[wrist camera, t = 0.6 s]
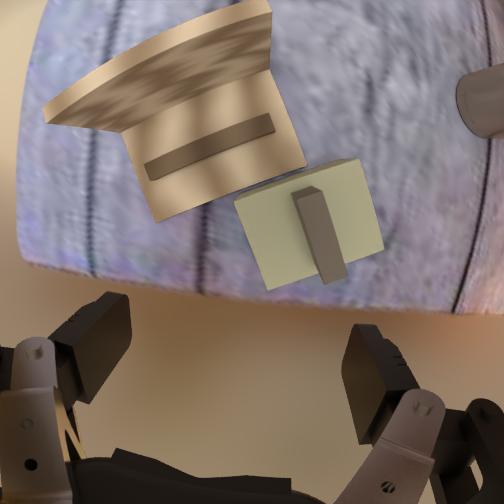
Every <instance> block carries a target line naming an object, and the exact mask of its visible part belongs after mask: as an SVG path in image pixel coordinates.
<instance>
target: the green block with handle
mask: <svg viewBox="0 0 504 504" xmlns="http://www.w3.org/2000/svg"><path fill="white" fill-rule="evenodd" d="M234 205H235V207H236V210H237V212H238V215H239V218H240V220H241V223H242V225H243V228H244V230H245V233H246V236H247V238H248V241H249V243H250V246H251V249H252V251H253V254H254V256H255V259H256V261H257V264H258V267H259V269H260V272H261V274H262V277H263V279H264V282H265V285H266V287H267V290H271V289H274V288H277V287H280V286H283V285H286V284H289V283H292V282H295V281H298V280H301V279H304V278H307V277H310V276H312V275H315V274H318V273H319V274H320V277H321V279H322V281H323V283H324V285H325V284H328V283H331V282H334V281H336V280H339V279H342V278H345V277H348V274H347V271H346V267H345V264H346V263H349V262H352V261H355V260H357V259H360V258H363V257H366V256H368V255H371V254H374V253H376V252H379V251H382V250H384V246H383V241H382V237H381V233H380V229H379V225H378V221H377V217H376V214H375V210H374V206H373V202H372V199H371V195H370V192H369V188H368V185H367V182H366V178H365V175H364V172H363V169H362V166H361V163H360V159H339V160H336V161H333V162H330V163H327V164H324V165H321V166H317V167H314V168H311V169H308V170H305V171H303V172H300V173H297V174H294V175H291V176H288V177H285V178H282V179H279V180H277V181H274V182H271V183H268V184H265V185H263V186H260V187H257V188H254V189H252V190H249V191H246V192H243V193H241V194H239V195H238V196H237V198H236V199H235V200H234Z"/></svg>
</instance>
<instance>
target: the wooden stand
mask: <svg viewBox="0 0 504 504" xmlns="http://www.w3.org/2000/svg"><path fill="white" fill-rule="evenodd" d="M271 28H272V10H271V8H270V6H269V4H268V2H267V1H266V0H247V1H244V2H241V3H237V4H234V5H231V6H228V7H225V8H222V9H219V10H216V11H213V12H211V13H208V14H205V15H203V16H200V17H197V18H195V19H192V20H190V21H188V22H185V23H183V24H180V25H178V26H176V27H173V28H171V29H169V30H167V31H165V32H163V33H160V34H158V35H156V36H154V37H152V38H150V39H148V40H146V41H144V42H142V43H140V44H138V45H136V46H135V47H133V48H131V49H129V50H127V51H125V52H124V53H122V54H120V55H118V56H117V57H115V58H113V59H111V60H110V61H108V62H106V63H105V64H103V65H102V66H100V67H98V68H97V69H95V70H94V71H92V72H91V73H89V74H87V75H86V76H84V77H83V78H81V79H80V80H79V81H77V82H76V83H74V84H73V85H71V86H70V87H69V88H67V89H66V90H64V91H63V92H62V93H60V94H59V95H58V96H56V97H55V98H54V99H52V100H51V101H50V102H49V103H47V104H46V105H45V106H44V107H42V109H43V113H44V117H45V121H46V123H47V124H57V125H67V126H75V127H83V128H91V129H98V130H105V131H112V132H119V133H121V134H122V136H123V139H124V142H125V145H126V148H127V151H128V153H129V156H130V159H131V161H132V164H133V167H134V169H135V172H136V175H137V177H138V180H139V183H140V185H141V188H142V190H143V193H144V195H145V198H146V200H147V203H148V205H149V208H150V210H151V213H152V215H153V217H154V220H155V222H156V223H157V222H160V221H162V220H165V219H167V218H169V217H172V216H174V215H177V214H179V213H181V212H184V211H186V210H189V209H191V208H194V207H196V206H199V205H201V204H204V203H206V202H209V201H211V200H214V199H216V198H219V197H222V196H224V195H227V194H229V193H232V192H235V191H237V190H240V189H243V188H245V187H248V186H251V185H254V184H256V183H259V182H262V181H265V180H267V179H270V178H273V177H276V176H279V175H281V174H284V173H287V172H290V171H293V170H296V169H299V168H302V167H305V166H307V163H306V160H305V158H304V155H303V152H302V149H301V147H300V144H299V141H298V139H297V136H296V133H295V131H294V128H293V126H292V123H291V121H290V118H289V116H288V113H287V111H286V108H285V106H284V103H283V101H282V98H281V96H280V93H279V91H278V89H277V86H276V84H275V82H274V79H273V77H272V75H271V72H270V70H269V65H270V47H271Z"/></svg>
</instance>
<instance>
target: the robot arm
mask: <svg viewBox="0 0 504 504" xmlns="http://www.w3.org/2000/svg"><path fill="white" fill-rule="evenodd" d="M456 97H457V104H458V108H459V111H460V114H461V117H462V118H463V120H464V122H465V124H466V125H467V126H468V128H469V129H470V130H471V131H472V132H473V133H474V134H476V135H477V136H479V137H481V138H487V139H492V138H503V139H504V63H502V64H499V65H496V66H493V67H489V68H486V69H483V70H480V71H477V72H474V73H471V74H468V75H466V76H464V77H463V78H462V79H461V80H460V82H459V83H458V87H457V94H456ZM131 338H132V328H131V318H130V306H129V299H128V296H127V295H125V294H120V293H115V292H109V291H107V292H106V293H104V294H103V295H102V296H101V297H100V298H99V299H98V300H97V301H95V302H92V303H89V304H87V305H85V306H83V307H81V308H80V309H79V310H78V311H77V312H76V313H75V314H74V315H72V316H71V317H70V318H69V319H68V321H65V322H64V323H63V324H62V325H61V326H60V327H59V328H58V329H56V331H54V332H53V333H52V334H51V335H50V336H49V337H48V338H44V337H31V338H28V339H25V340H23V341H21V342H20V343H19V344H18V345H17V346H16V347H15V348H8V347H1V346H0V474H1V485H2V487H0V504H326V503H324V502H322V501H320V500H319V499H317V498H315V497H312V496H310V495H308V494H305V493H302V492H299V491H295V490H291V478H274V477H259V476H248V475H244V476H232V477H215V478H197V477H194V476H192V475H189V474H187V473H184V472H182V471H180V470H178V469H175V468H173V467H171V466H169V465H167V464H165V463H163V462H160V461H158V460H156V459H153V458H150V457H146V456H142V455H139V454H135V453H132V452H128V451H125V450H122V449H119V448H116V449H115V451H114V453H113V455H112V457H111V458H109V457H94V458H87V456H86V454H85V450H84V447H83V443H82V439H81V435H80V431H79V426H78V422H77V417H76V412H75V409H74V406H73V405H74V403H75V402H76V400H78V401H81V402H84V403H86V404H90V403H91V401H92V400H93V398H94V397H95V395H96V394H97V392H98V391H99V389H100V388H101V386H102V385H103V384H104V382H105V381H106V379H107V378H108V376H109V375H110V373H111V372H112V371H113V369H114V368H115V366H116V365H117V363H118V362H119V360H120V359H121V358H122V356H123V355H124V353H125V352H126V351H127V349H128V348H129V346H130V343H131ZM341 370H342V371H341V372H342V379H343V382H344V386H345V390H346V394H347V397H348V401H349V405H350V409H351V413H352V417H353V421H354V425H355V429H356V433H357V438H358V442H359V445H363V444H372V446H373V449H372V450H371V452H370V453H369V455H368V457H367V458H366V460H365V461H364V463H363V464H362V466H361V467H360V468H359V470H358V471H357V473H356V474H355V476H354V477H353V478H352V480H351V481H350V483H349V484H348V485H347V487H346V488H345V489H344V491H343V492H342V493H341V495H340V496H339V497H338V499H337V500H336V501H335V502H334V503H333V504H418V502H419V499H420V497H421V495H422V493H423V490H424V488H425V486H426V483H427V481H428V479H430V482H431V486H432V489H433V493H434V497H435V501H436V504H504V413H503V411H502V410H501V408H500V407H499V406H498V405H497V404H496V403H494V402H492V401H490V400H488V399H483V398H478V399H475V400H473V401H472V402H471V403H470V404H469V406H468V407H467V409H466V411H461V410H453V409H446V408H445V404H444V403H443V401H442V400H441V398H440V397H439V396H437V395H436V394H434V393H433V392H430V391H427V390H424V389H420V387H419V385H418V383H417V381H416V379H415V377H414V376H413V374H412V372H411V370H410V368H409V367H408V366H407V363H406V361H405V360H404V358H402V354H401V352H400V351H399V349H398V347H397V346H396V345H394V344H393V343H392V342H391V341H390V340H388V339H384V338H383V337H382V335H381V333H380V331H379V329H378V328H377V326H376V325H372V324H371V325H370V324H354V326H353V328H352V330H351V334H350V337H349V341H348V344H347V347H346V351H345V354H344V358H343V361H342V369H341ZM475 459H476V461H477V464H478V466H479V469H480V471H481V474H482V476H483V484H482V487H481V489H480V491H479V488H478V485H477V483H476V480H475V477H474V475H473V472H472V470H471V467H470V465H471V463H472V462H474V460H475Z"/></svg>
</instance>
